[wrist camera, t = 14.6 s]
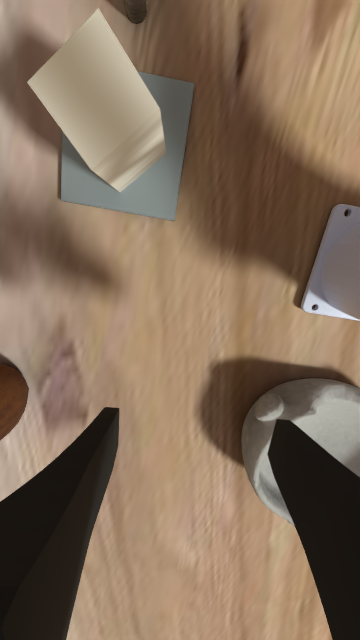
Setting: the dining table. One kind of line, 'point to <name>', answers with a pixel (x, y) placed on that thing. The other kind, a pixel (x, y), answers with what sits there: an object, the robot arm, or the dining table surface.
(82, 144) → the ash block
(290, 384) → the dish
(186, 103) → the mat
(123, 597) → the dining table surface
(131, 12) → the bent rod
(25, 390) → the wooden figurine
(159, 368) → the dining table surface
